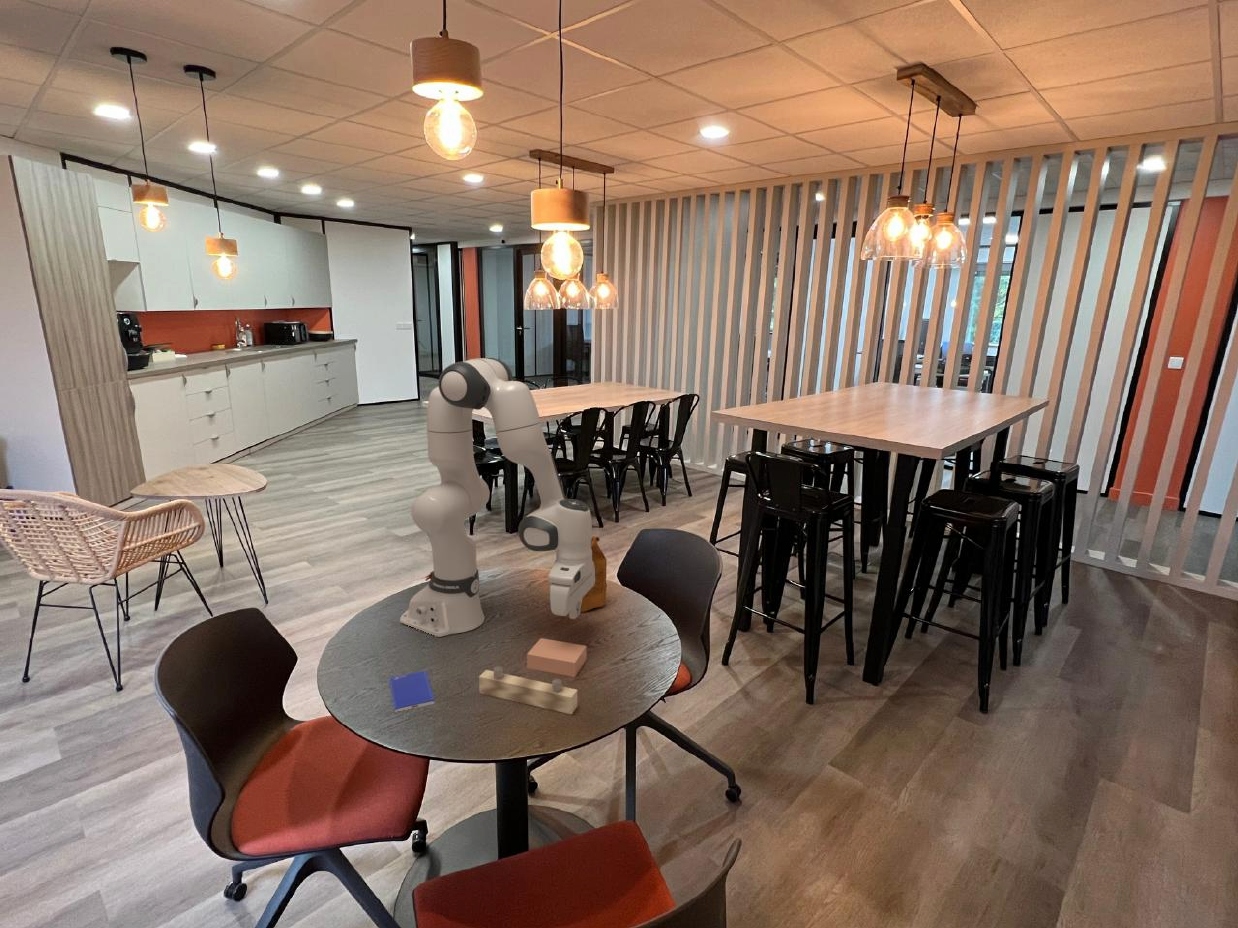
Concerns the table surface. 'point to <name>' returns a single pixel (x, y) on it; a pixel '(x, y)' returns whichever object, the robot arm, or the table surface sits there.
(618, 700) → the table surface
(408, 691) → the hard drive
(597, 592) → the coffee package
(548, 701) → the stop bar
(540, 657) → the terracotta block
